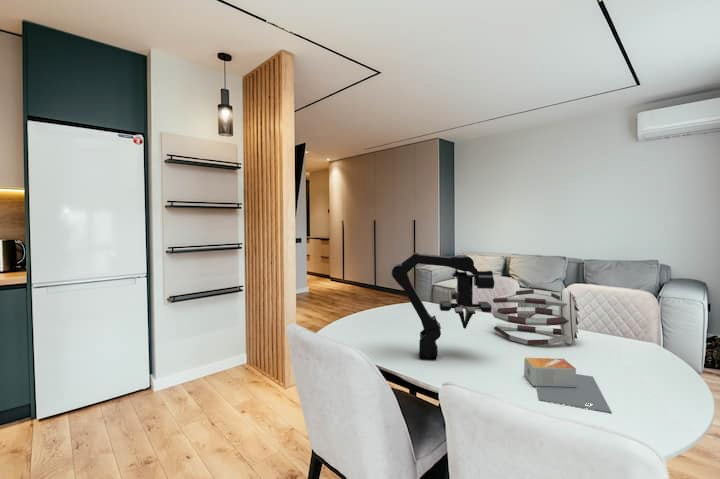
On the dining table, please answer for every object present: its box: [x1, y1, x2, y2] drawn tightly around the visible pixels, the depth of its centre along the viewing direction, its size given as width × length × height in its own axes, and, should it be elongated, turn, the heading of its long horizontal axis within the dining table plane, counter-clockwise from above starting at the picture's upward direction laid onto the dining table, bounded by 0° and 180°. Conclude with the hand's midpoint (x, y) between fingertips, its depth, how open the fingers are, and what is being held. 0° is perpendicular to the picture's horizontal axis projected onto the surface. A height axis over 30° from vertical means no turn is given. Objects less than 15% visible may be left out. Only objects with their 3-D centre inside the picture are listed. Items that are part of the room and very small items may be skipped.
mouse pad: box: [535, 373, 612, 414], centre depth 110 cm, size 18×24×1 cm
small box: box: [523, 357, 577, 387], centre depth 114 cm, size 8×6×13 cm
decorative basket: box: [491, 287, 580, 346], centre depth 156 cm, size 24×27×35 cm
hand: (464, 328), depth 134 cm, fingers closed
